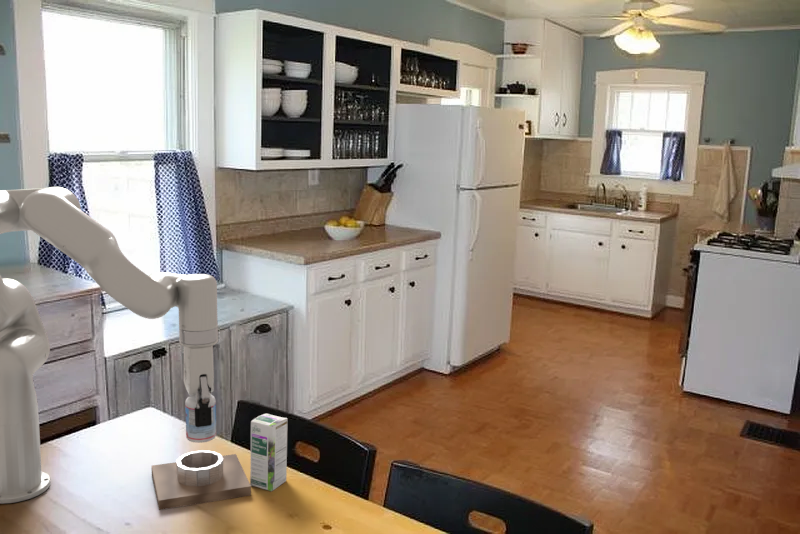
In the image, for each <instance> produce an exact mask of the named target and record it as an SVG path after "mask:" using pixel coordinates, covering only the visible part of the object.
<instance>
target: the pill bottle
mask: <svg viewBox="0 0 800 534" xmlns="http://www.w3.org/2000/svg"><path fill="white" fill-rule="evenodd" d="M197 391H198V393H200V392H201V390H197ZM200 398H201V396H199V400H200ZM210 402H211V415H212V424H211V425H210V426H202V427H196V426H195V408H196V398H195V394H192V395H189V396H187V398H186V399H185V403H184V405H185V408H184V409H185V435H186V436H185V437H186V439H187V441H189V442H191V443H207V442H210V441H213V440H214V439H215V438H216V437H217V405H216V404H217V401H216V397H215V396H214V395H213V394H212V393H210Z"/></svg>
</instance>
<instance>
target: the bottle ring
mask: <svg viewBox="0 0 800 534" xmlns="http://www.w3.org/2000/svg"><path fill="white" fill-rule="evenodd" d="M222 456H223V455H222V454H221V453H219V452H216V451H213V450H204V449H201V450H194V451H189V452H187V453H184V454H182V455H181V456H179V457H178V458H177V459H176V460H175V462H176V470H177V480H178V482H180V483H182V484H184V485H187V486H204V485H209V484H212V483H214V482H216V481H219V480H220V479H221V477H222V476H223V458H222ZM200 467H205V468H200ZM197 468H198V469H197Z"/></svg>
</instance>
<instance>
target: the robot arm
mask: <svg viewBox="0 0 800 534" xmlns="http://www.w3.org/2000/svg"><path fill="white" fill-rule="evenodd" d="M81 208H82V207H81V204H80V201H79V199H78V197H77V196H76V194H74V193H73V192H72V191H71V190H69V189H67V188H64V187H61V186H48V187H40V188H22V189H21V188H20V189H18V188H17V189H2V190H1V189H0V235H2V234H5V233H11V232H12V233H13V232H22V231H23V232H24V231H32V232H33V233H35V235H38V236H39V237H40V238H42V239H43V240H45V241H46V243H49V244H50V245H52V246H53V247H55V248H56V249H57V250H59V251H60V252H61V253H63V254H64V255H66V256H67V257H69V258H70V259H71V260H73V261H74V262H76V263H77V264H79V265H80V266H81V267H82V268H83V269H84V270H85V271H86V272H87V274H88V275H89V276H90V277H91V279H92V280H94V282H95V283H96V284H97V285H98V286H99V287H100V288H101V290H102V291H104V292H105V293H106V294H107V295H108V296H109V297H111V298H112V299H113V300H115V301H116V302H117V303H119V304H120V305H122V306H123V307H125V308H126V309H127V310H129V311H130V312H132V313H133V314H136V315H137V316H139V317H141V318H143V319H144V318H145V319H149V320H156V319H159V318H162V317H163V316H165V315H166V314H167V313H168V312H169V311H171V309H173V308H175V307H176V308H177V309H178V326H179V327H178V334H179V335H178V337H179V345H181V346H182V347H183V385H184V387H185V389H186V392H187V394H188V395H189V396H190V395H192V394H195V398H196V408H195V426H196V427H202V426H210V425H211V424H212V415H211V402H210V393H211V394H212V393H213V392H214V390H215V389H214V388H215V386H214V385H215V383H214V382H215V381H214V380H215V378H214V376H215V373H214V370H215V369H214V348H213V346H214V345H216V344H217V343H218V342H219V331H218V330H219V327H218V326H219V325H218V285H217V283H218V282H217V280H216V278H215V277H214V276H213V275H210V274H207V273H192V274H191V273H190V274H179V273H173V272H169V271H167V272H166V271H165V272H164V271H158V272H157V271H156V272H153V273H151V274H150V275H147V274H146V273H145V271H142V270H141V269H139V268H138V267H137V266H136V265H134V264H133V262H131V261H130V260H129V259H128V258H127V257H126V256H125V254H124V253H123V252H122V250H121V248H120V247H119V244H118V241H117V239H116V238H117V237H115V235H114V234H113V232H111V231H110V230H109V229H108V228H106V227H105V226H104V225H103V224H101V223H99V222H98V221H96V220H95V219H94V218H92V217H91V216H89V214H87V213H86V212H84V211H83V210H82V209H81ZM50 351H51V344H50V340H49V337H48V333H47V331H46V329H45V326H44V323H43V321H42V318H41V316H40V313H39V309H38V307H37V305H36V303H35V300H34V298H33V295H32V294H31V292H30V291H29V289H28V288H27V287H26V286H25V285H24V284H23V283H21V282H20V281H18V280H16V279H13V278H7V277H3V276H2V275H1V274H0V504H12V503H19V502H24V501H26V500H30V499H33V498H35V497H37V496H39V495H41V494H43V493H44V492H45V491H46V490H48V489H49V488H50V486H51V477H50V474H48V473H47V472H44V471H42V456H41V455H42V453H41V439H40V438H41V437H40V435H41V434H40V417H39V403H38V395H37V391H36V389H35V384H34V380H33V379H34V378H33V376H34V374H35V373H36V372H37V371H38V370H39V369H40V368H41V367H42V366H43V365H44V364H45V363H46V362H47V360H48V358H49V356H50V353H51V352H50ZM197 390H201V392H200V393H198V391H197ZM199 396H201V398H200V400H199Z"/></svg>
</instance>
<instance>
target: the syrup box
mask: <svg viewBox="0 0 800 534" xmlns="http://www.w3.org/2000/svg"><path fill="white" fill-rule="evenodd" d="M287 457H288V418H287V417H283V416H282V417H281V416H277V415H273V414H270V413H263V414H261V415H258V416H257V417H254V418H253V419H252V420H251V421H250V477H249V480H250V481H249V483H250V485H251V487H255V488H260V489H262V490H266V491H269V492H273V491H275V490H276V489H277V488H279V487H280V486H282V484H284V483H286V481H287V468H288V467H287V466H288V465H287V463H288V462H287V460H288V459H287Z"/></svg>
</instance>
